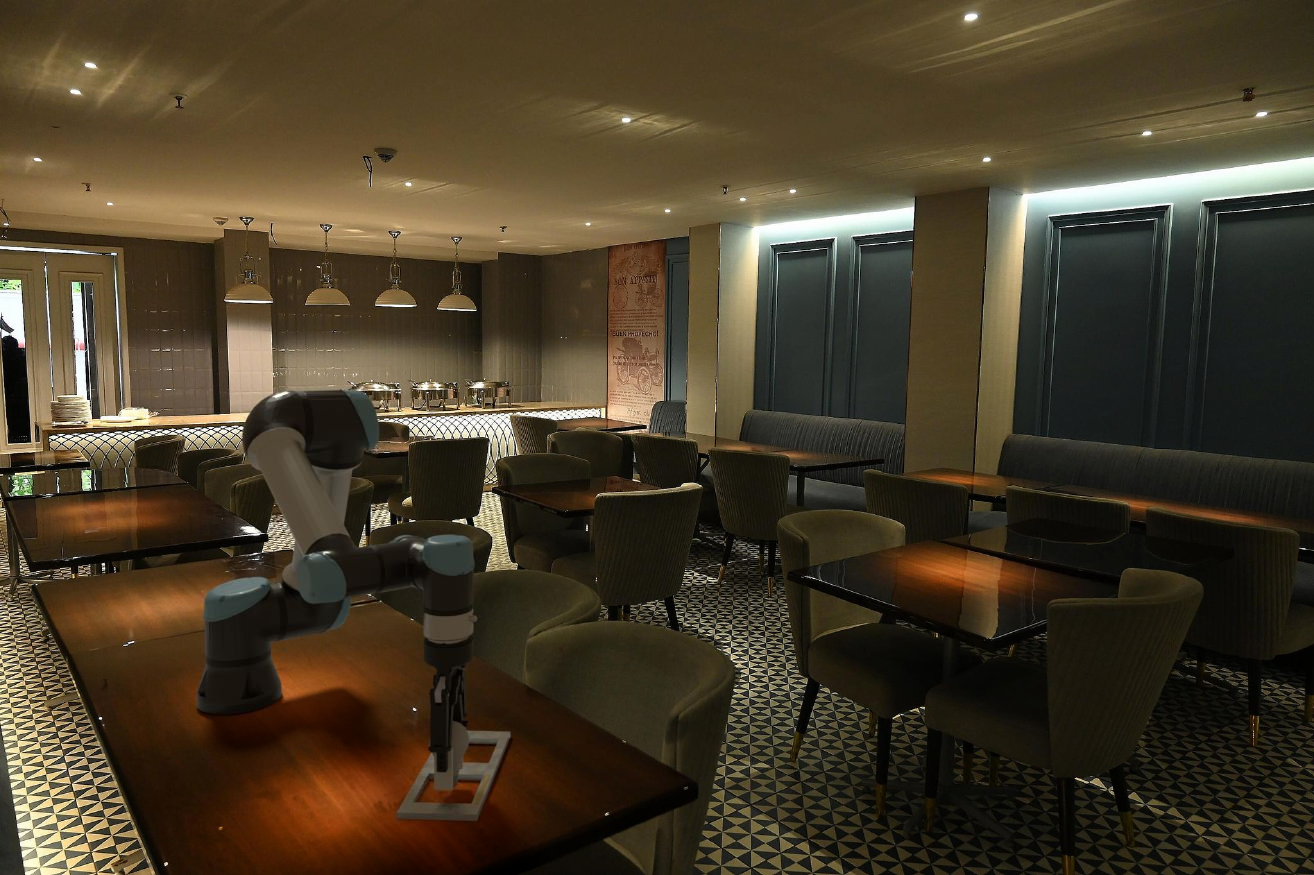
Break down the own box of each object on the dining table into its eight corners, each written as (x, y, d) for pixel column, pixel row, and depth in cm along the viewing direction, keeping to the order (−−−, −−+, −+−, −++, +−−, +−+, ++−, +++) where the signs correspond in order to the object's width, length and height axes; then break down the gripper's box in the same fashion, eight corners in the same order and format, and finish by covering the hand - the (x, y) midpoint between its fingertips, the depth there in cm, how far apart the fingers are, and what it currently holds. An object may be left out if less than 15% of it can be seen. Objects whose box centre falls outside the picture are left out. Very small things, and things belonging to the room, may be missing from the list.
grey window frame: (396, 818, 128) (396, 812, 128) (444, 735, 156) (444, 729, 156) (476, 820, 128) (476, 814, 128) (510, 736, 156) (510, 731, 156)
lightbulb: (432, 780, 138) (432, 714, 137) (471, 779, 139) (471, 713, 138) (426, 799, 132) (425, 731, 131) (466, 798, 133) (466, 730, 132)
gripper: (458, 658, 124) (458, 810, 126) (485, 617, 143) (485, 750, 145) (406, 657, 124) (407, 809, 126) (440, 616, 143) (440, 749, 145)
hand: (449, 777), depth 136 cm, fingers closed on lightbulb, 6 cm apart
